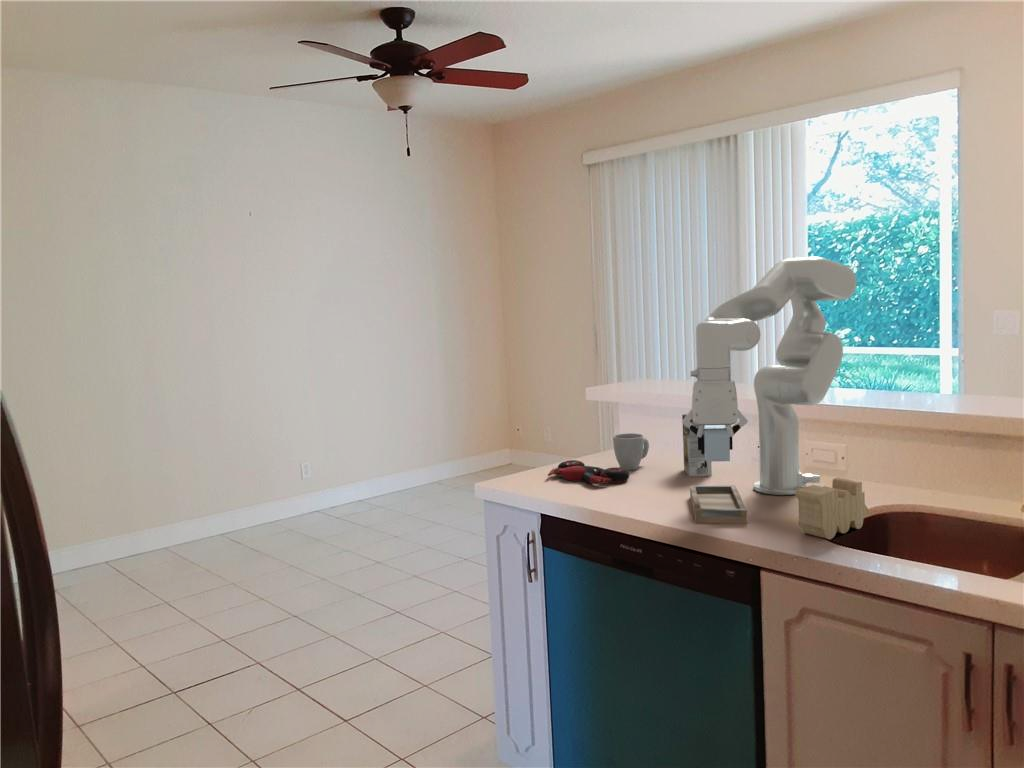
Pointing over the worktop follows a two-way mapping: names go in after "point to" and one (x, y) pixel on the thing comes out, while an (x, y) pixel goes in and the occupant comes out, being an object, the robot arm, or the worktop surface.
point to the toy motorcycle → (589, 473)
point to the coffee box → (694, 454)
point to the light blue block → (716, 443)
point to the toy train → (831, 508)
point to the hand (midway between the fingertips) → (715, 452)
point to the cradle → (717, 505)
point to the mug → (630, 449)
